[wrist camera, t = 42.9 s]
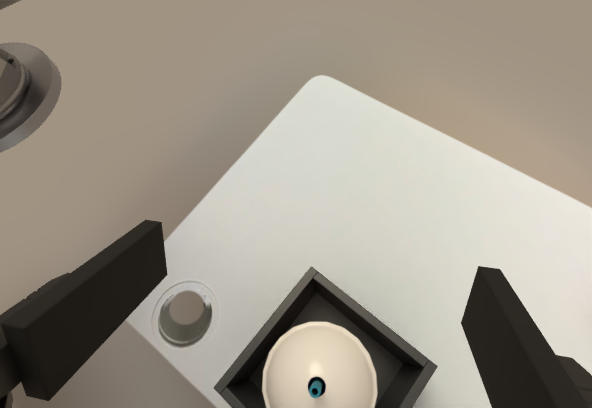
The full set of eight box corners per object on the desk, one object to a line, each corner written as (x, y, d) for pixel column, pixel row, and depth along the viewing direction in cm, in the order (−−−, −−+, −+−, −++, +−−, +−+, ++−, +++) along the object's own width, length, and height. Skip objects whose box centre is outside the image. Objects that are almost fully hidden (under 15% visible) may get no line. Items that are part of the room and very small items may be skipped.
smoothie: (270, 380, 38) (211, 409, 19) (313, 315, 40) (297, 286, 22) (334, 434, 35) (336, 526, 17) (376, 361, 37) (419, 373, 19)
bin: (240, 379, 39) (213, 387, 30) (315, 284, 42) (311, 266, 33) (337, 477, 34) (339, 522, 25) (412, 362, 38) (437, 366, 29)
